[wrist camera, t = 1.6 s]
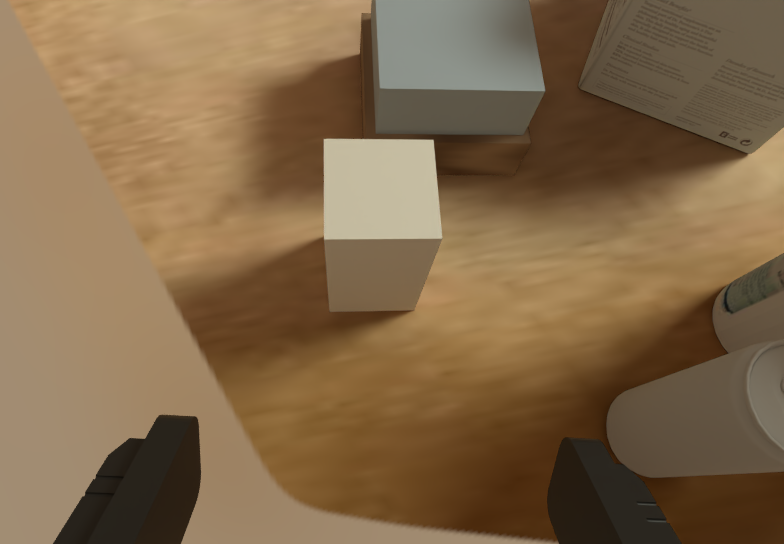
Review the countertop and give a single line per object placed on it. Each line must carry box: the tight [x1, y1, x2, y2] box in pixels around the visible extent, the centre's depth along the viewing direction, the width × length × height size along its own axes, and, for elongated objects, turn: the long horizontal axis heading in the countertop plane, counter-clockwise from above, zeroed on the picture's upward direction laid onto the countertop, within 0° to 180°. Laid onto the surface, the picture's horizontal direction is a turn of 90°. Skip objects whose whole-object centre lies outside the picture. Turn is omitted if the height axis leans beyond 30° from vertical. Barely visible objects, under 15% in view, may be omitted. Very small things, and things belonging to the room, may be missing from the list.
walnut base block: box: [360, 13, 531, 175], centre depth 37 cm, size 10×10×4 cm
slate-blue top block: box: [371, 0, 545, 135], centre depth 33 cm, size 9×9×4 cm
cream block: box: [324, 139, 442, 312], centre depth 29 cm, size 5×5×10 cm
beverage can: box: [606, 339, 784, 478], centre depth 26 cm, size 5×5×12 cm
